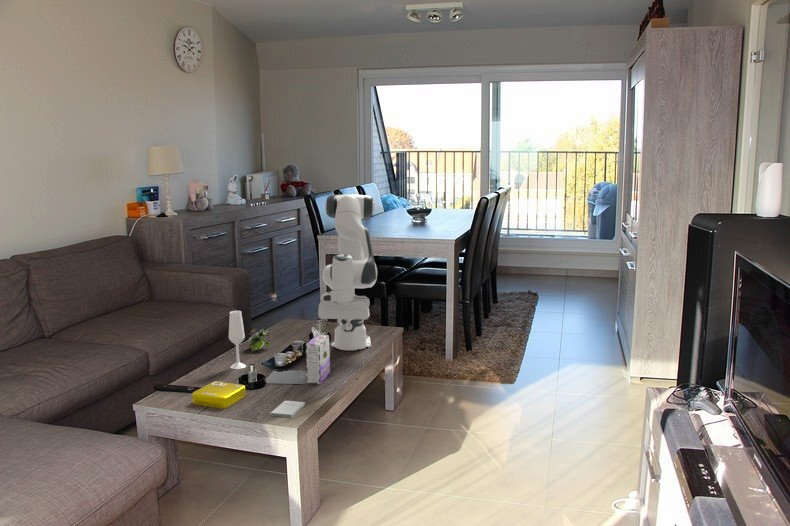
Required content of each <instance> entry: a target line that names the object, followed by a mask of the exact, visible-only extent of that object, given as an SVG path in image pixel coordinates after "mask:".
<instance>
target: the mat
mask: <svg viewBox="0 0 790 526" xmlns="http://www.w3.org/2000/svg"><path fill="white" fill-rule="evenodd" d="M287 370H288V369H287ZM297 371H298V372H297ZM300 372H301V373H300ZM302 372H303V373H302ZM299 373H300V374H299ZM306 374H307V370H290V369H289V370H288V371H283V372H277V371H274V370H272V372H271V373H270V374H269V375H268V376H267V377H266V378H265V380H266V383H267V384H266V385H291V384H303V385H302V386H305V385H306V383H307V382H306V381H307V375H306ZM301 376H302V377H301ZM304 384H305V385H304Z"/></svg>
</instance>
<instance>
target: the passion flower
mask: <svg viewBox="0 0 790 526" xmlns="http://www.w3.org/2000/svg"><path fill="white" fill-rule="evenodd" d="M257 330H258V329H257V328H256V329H253V330H250V333H249V335H250V337H249V338H248V340H247V344H248V348H249V347H251V352H252V353H254V352H256V351H257V350H261V349H262V348H263V347H264V346H266V348H267V350H269V347H271V344H270V342H268V341H269V337H270V331H269V330H267V331H265V330H264V328H262V329H259V330H258V331H257ZM266 336H267V338H266V340H264V338H265V337H266Z"/></svg>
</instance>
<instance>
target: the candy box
mask: <svg viewBox="0 0 790 526" xmlns="http://www.w3.org/2000/svg"><path fill="white" fill-rule="evenodd" d="M330 357H331V355H330V336H329V334H328V335H326V334H325V335H324V334H316V335H314V336H313V337H312V338H311V339H309V341H308V342H307V343H306V344H305V358H306V359H305V360H306V361H305V364H306V365H305V367H306V371H307V382H306V383H307V384H308V383H310V384H309V385H319V384H320V385H321V384H322V383H323V382H324V381H325V380H326V379H327V377H328V376H329V375H330V374H331V358H330Z"/></svg>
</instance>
